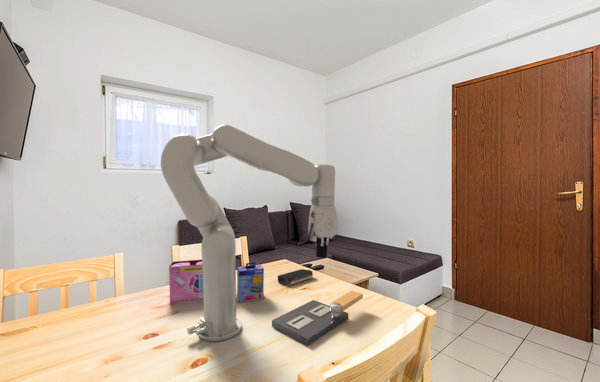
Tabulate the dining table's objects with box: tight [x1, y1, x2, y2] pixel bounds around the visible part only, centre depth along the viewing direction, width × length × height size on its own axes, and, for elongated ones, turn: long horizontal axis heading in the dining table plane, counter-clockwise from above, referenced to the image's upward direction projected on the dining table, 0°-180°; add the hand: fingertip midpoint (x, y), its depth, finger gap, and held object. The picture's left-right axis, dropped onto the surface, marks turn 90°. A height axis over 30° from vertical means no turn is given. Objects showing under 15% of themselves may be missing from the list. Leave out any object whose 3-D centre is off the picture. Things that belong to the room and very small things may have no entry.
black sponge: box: [277, 268, 314, 286], centre depth 125 cm, size 16×8×4 cm, turn 132°
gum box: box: [168, 259, 203, 303], centre depth 109 cm, size 24×8×14 cm, turn 104°
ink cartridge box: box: [236, 261, 265, 303], centre depth 106 cm, size 10×6×14 cm, turn 111°
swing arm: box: [329, 290, 364, 313], centre depth 91 cm, size 4×15×2 cm, turn 138°
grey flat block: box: [271, 299, 349, 347], centre depth 87 cm, size 20×15×4 cm
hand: (321, 257), depth 91 cm, fingers closed
